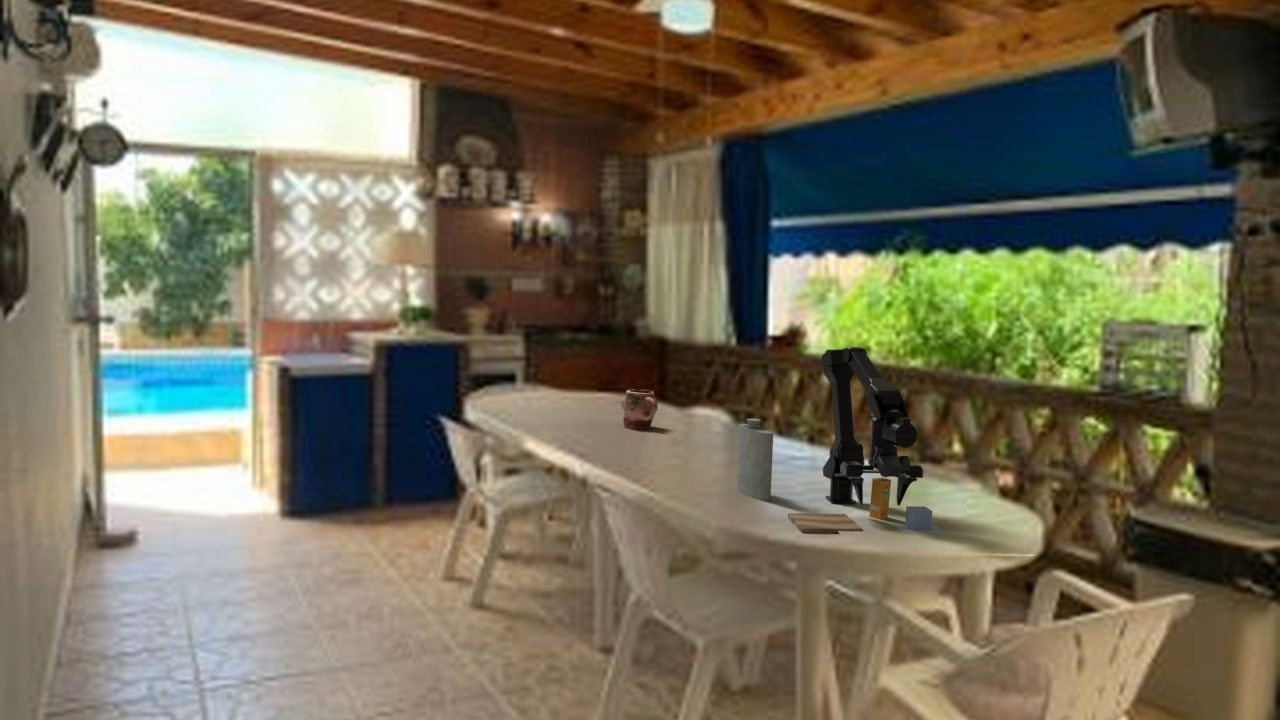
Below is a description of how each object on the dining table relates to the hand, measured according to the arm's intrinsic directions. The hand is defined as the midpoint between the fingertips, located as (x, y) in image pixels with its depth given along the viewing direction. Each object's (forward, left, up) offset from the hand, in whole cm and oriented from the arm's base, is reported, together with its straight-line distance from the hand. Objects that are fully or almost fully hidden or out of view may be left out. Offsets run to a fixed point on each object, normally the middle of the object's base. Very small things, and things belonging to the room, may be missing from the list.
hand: (879, 504), depth 241 cm
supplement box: (0, 0, -4) cm, 4 cm away
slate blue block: (+10, +6, -3) cm, 12 cm away
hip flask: (-26, -26, -4) cm, 37 cm away
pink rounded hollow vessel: (-134, -47, -4) cm, 142 cm away
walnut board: (+6, -15, -4) cm, 17 cm away
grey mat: (+10, +6, -4) cm, 12 cm away
